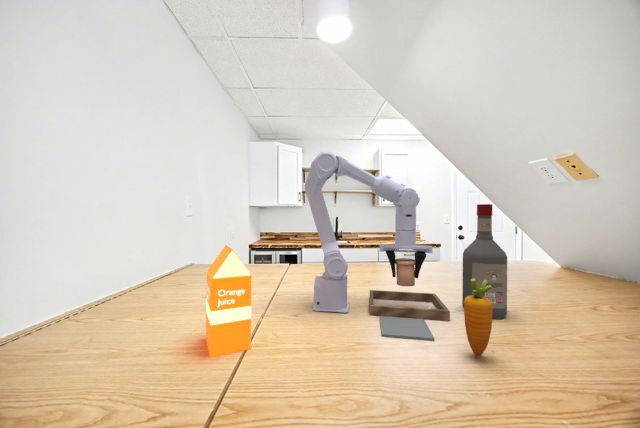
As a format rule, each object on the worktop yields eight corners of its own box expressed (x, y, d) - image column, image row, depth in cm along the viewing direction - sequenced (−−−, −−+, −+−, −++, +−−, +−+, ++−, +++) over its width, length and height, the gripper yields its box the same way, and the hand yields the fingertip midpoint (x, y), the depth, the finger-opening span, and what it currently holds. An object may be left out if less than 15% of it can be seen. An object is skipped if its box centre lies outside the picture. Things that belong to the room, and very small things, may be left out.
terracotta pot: (396, 286, 77) (395, 261, 77) (394, 281, 83) (393, 257, 83) (417, 287, 76) (417, 261, 76) (414, 282, 82) (413, 258, 82)
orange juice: (209, 357, 51) (210, 250, 51) (205, 338, 59) (206, 245, 59) (251, 348, 55) (252, 248, 55) (242, 331, 62) (243, 243, 62)
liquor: (511, 319, 71) (512, 204, 71) (475, 319, 71) (476, 203, 71) (491, 307, 80) (491, 205, 80) (459, 307, 80) (459, 205, 81)
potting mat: (381, 336, 61) (381, 334, 61) (379, 318, 71) (379, 316, 71) (434, 340, 59) (434, 338, 59) (424, 321, 69) (424, 319, 69)
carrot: (484, 351, 54) (485, 275, 54) (498, 364, 49) (499, 281, 49) (458, 349, 55) (459, 274, 55) (469, 363, 50) (470, 280, 50)
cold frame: (369, 315, 73) (369, 305, 73) (369, 297, 89) (369, 289, 89) (449, 321, 70) (449, 311, 70) (434, 301, 86) (434, 293, 86)
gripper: (428, 229, 82) (428, 275, 82) (379, 229, 85) (378, 273, 85) (434, 231, 75) (434, 280, 75) (380, 230, 78) (379, 278, 78)
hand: (405, 277), depth 79 cm, fingers closed on terracotta pot, 6 cm apart
